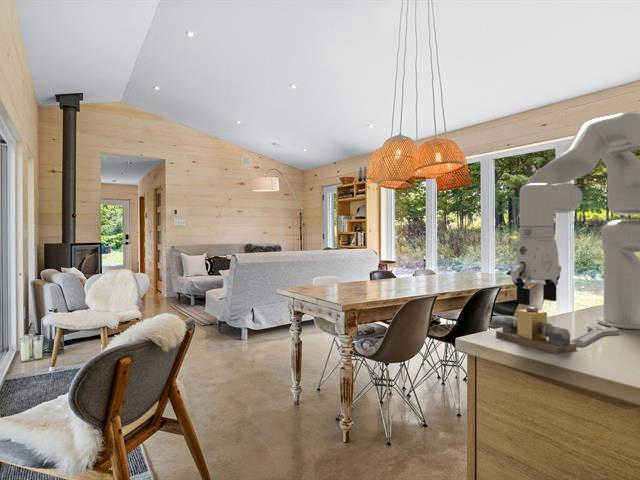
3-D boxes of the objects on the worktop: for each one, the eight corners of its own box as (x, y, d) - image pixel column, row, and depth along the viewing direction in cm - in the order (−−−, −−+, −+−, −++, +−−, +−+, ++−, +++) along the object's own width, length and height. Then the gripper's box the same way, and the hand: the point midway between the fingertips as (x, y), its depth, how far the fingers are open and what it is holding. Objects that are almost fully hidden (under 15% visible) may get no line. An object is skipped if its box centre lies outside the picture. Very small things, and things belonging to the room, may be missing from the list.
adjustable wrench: (582, 349, 97) (582, 342, 97) (553, 343, 102) (554, 336, 102) (621, 334, 111) (621, 327, 111) (594, 329, 117) (595, 323, 117)
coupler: (546, 338, 98) (546, 309, 98) (531, 340, 97) (532, 310, 97) (531, 334, 103) (532, 305, 103) (517, 335, 101) (517, 306, 101)
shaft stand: (517, 333, 109) (517, 313, 109) (576, 349, 95) (576, 325, 95) (496, 336, 106) (496, 315, 106) (553, 353, 91) (554, 329, 91)
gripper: (525, 235, 93) (526, 308, 93) (573, 232, 100) (573, 301, 101) (499, 234, 100) (499, 303, 100) (545, 232, 107) (545, 296, 107)
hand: (536, 302), depth 100 cm, fingers open, 9 cm apart
